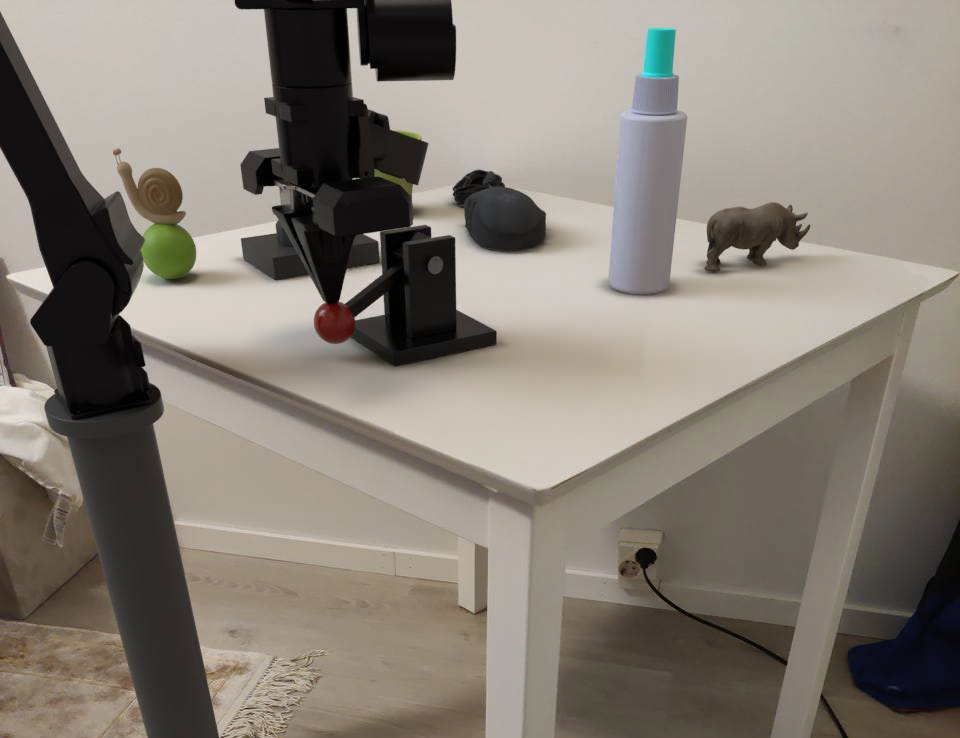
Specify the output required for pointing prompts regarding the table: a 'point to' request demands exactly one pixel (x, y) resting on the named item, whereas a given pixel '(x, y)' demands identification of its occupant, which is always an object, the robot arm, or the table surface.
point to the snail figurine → (160, 220)
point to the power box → (283, 260)
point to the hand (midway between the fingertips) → (331, 302)
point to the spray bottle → (648, 174)
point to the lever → (358, 302)
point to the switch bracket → (421, 304)
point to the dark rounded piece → (499, 213)
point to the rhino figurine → (752, 231)
